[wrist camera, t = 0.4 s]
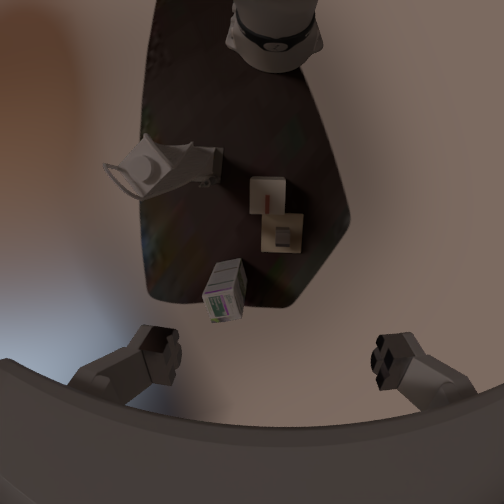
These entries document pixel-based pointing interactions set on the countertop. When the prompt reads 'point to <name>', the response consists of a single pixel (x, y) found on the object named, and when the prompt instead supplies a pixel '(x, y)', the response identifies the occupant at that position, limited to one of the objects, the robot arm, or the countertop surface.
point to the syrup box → (226, 291)
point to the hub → (282, 233)
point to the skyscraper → (167, 167)
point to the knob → (267, 195)
